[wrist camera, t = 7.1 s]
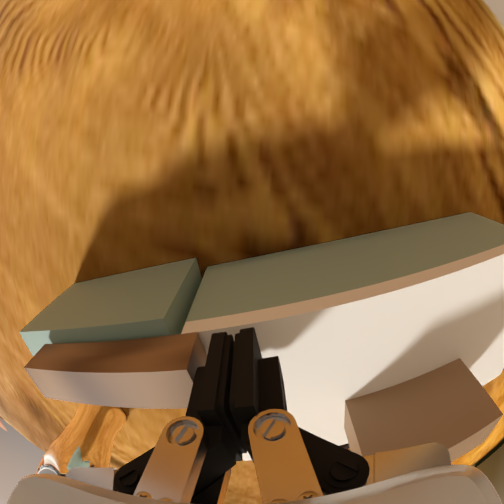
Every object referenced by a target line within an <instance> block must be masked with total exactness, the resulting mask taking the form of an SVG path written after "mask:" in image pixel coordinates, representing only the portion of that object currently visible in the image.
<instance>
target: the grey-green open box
mask: <svg viewBox="0 0 504 504" xmlns="http://www.w3.org/2000/svg"><path fill="white" fill-rule="evenodd" d="M503 244H504V224H501V223H499V222H496V221H494V220H491V219H488V218H486V217H483V216H480V215H478V214H475V213H472V212H468V213H463V214H458V215H454V216H449V217H444V218H440V219H435V220H430V221H426V222H421V223H416V224H412V225H407V226H402V227H397V228H393V229H388V230H383V231H378V232H374V233H369V234H364V235H359V236H354V237H350V238H345V239H340V240H335V241H330V242H325V243H321V244H316V245H311V246H306V247H301V248H296V249H291V250H287V251H282V252H277V253H272V254H267V255H262V256H257V257H252V258H247V259H242V260H237V261H232V262H227V263H222V264H217V265H212V266H207V269H206V271H205V274H204V276H203V279H202V276H201V272H200V269H199V266H198V262H197V259H196V258H191V259H187V260H182V261H177V262H172V263H168V264H163V265H158V266H153V267H149V268H144V269H139V270H134V271H130V272H125V273H120V274H116V275H111V276H106V277H102V278H97V279H92V280H88V281H83V282H79V283H74V284H73V285H72V286H71V287H69V288H68V289H67V290H66V291H65V292H63V293H62V294H61V295H60V296H59V297H57V298H56V299H55V300H54V301H53V302H52V303H51V304H49V305H48V306H47V307H46V308H45V309H44V310H43V311H42V312H40V313H39V314H38V315H37V316H36V317H35V318H34V319H33V320H32V321H31V322H29V323H28V324H27V325H26V326H25V327H24V328H23V329H22V330H21V331H20V334H21V336H22V338H23V340H24V341H25V343H26V345H27V347H28V348H29V350H30V352H31V354H32V355H33V357H34V356H35V354H36V353H37V352H38V351H39V350H40V349H41V348H42V347H43V345H44V344H62V343H87V342H104V341H118V340H130V339H141V338H151V337H160V336H169V335H177V334H181V333H182V330H183V327H184V325H185V322H188V321H195V320H202V319H208V318H215V317H221V316H227V315H233V314H239V313H244V312H250V311H255V310H261V309H266V308H271V307H276V306H281V305H286V304H291V303H296V302H301V301H306V300H310V299H315V298H319V297H324V296H328V295H333V294H337V293H341V292H345V291H350V290H354V289H358V288H362V287H366V286H370V285H374V284H377V283H381V282H385V281H389V280H393V279H396V278H400V277H403V276H407V275H411V274H414V273H418V272H421V271H424V270H428V269H431V268H434V267H438V266H441V265H444V264H447V263H451V262H454V261H457V260H460V259H463V258H466V257H469V256H472V255H475V254H478V253H481V252H484V251H487V250H490V249H492V248H495V247H498V246H501V245H503Z"/></svg>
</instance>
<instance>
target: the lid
mask: <svg viewBox="0 0 504 504" xmlns="http://www.w3.org/2000/svg"><path fill="white" fill-rule="evenodd" d="M251 327H254V329H255V332H256V336H257V340H258V343H259V347H260V351H261V355H262V358H268V357H274V356H278V357H279V361H280V365H281V370H282V375H283V381H284V388H285V396H286V404H287V411H288V412H289V413H290V414H292V415H293V417H294V418H295V420H296V422H297V425H298V427H300V428H302V429H304V430H306V431H308V432H310V433H312V434H314V435H316V436H318V437H320V438H322V439H325V440H327V441H329V442H331V443H333V444H336V445H338V446H340V445H344V444H347V443H349V447H350V450H351V451H352V452H355V453H357V454H359V455H361V456H369V455H374V454H375V453H376V452H384V451H390V450H397V449H402V448H408V447H413V446H418V445H422V444H427V443H435V442H437V443H440V444H443V445H444V446H445V447H446V448H447V449H448V451H449V454H450V460H451V462H452V461H454V460H455V459H457V458H459V457H461V456H462V455H464V454H466V453H467V452H469V451H471V450H472V449H474V448H475V447H477V446H479V445H480V444H482V443H483V442H484V441H485V440H486V438H487V437H488V436H489V434H490V433H491V431H492V430H493V429H494V427H495V426H496V424H497V423H498V421H499V420H500V418H501V417H502V415H503V414H502V412H501V411H500V410H499V408H498V407H497V405H496V404H495V403H494V401H493V400H492V398H491V397H490V396H489V394H488V393H487V392H486V390H485V389H484V388H483V385H485V384H486V383H488V382H490V381H491V380H493V379H494V378H496V377H497V376H499V375H500V374H501V372H502V370H503V368H504V244H503V245H501V246H498V247H495V248H492V249H490V250H487V251H484V252H481V253H478V254H475V255H472V256H469V257H466V258H463V259H460V260H457V261H454V262H451V263H447V264H444V265H441V266H438V267H434V268H431V269H428V270H424V271H421V272H418V273H414V274H411V275H407V276H403V277H400V278H396V279H393V280H389V281H385V282H381V283H377V284H374V285H370V286H366V287H362V288H358V289H354V290H350V291H345V292H341V293H337V294H333V295H328V296H324V297H319V298H315V299H310V300H306V301H301V302H296V303H291V304H286V305H281V306H276V307H271V308H266V309H261V310H255V311H250V312H244V313H239V314H233V315H227V316H221V317H215V318H208V319H202V320H195V321H188V322H185V325H184V327H183V330H182V333H181V334H185V333H193V332H198V335H199V337H200V340H201V342H202V345H203V347H204V350H205V352H206V355H207V354H208V349H209V345H210V340H211V335H212V334H213V333H219V332H227V334H228V335H230V334H232V336H233V339H234V341H235V334H237V333H240V329H245V328H251ZM242 458H243V460H244V461H247V460H252V459H251V457H250V455H249V453H248V451H247V453H242Z"/></svg>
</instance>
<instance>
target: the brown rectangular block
mask: <svg viewBox="0 0 504 504" xmlns="http://www.w3.org/2000/svg"><path fill="white" fill-rule="evenodd" d="M206 359H207V355H206V352H205V350H204V347H203V345H202V342H201V340H200V337H199V335H198V332H193V333H185V334H177V335H169V336H160V337H151V338H141V339H130V340H118V341H104V342H87V343H62V344H44V345H43V347H42V348H41V349H40V350H39V351H38V352H37V353H36V354H35V356H34V357H33V358H32V359H31V360H30V361H29V362H28V364H27V365H26V366H25V367H24V368H25V370H26V371H27V373H28V374H29V376H30V377H31V379H32V380H33V382H34V383H35V384H36V386H37V387H38V389H39V390H40V391H41V393H42V394H43V395H44V397H45V398H50V399H56V400H62V401H68V402H75V403H82V404H90V405H99V406H110V407H124V408H148V409H179V408H187V407H188V403H189V399H190V394H191V390H192V386H193V382H194V377H195V373H196V370H197V368H198V367H202V366H205V364H206Z"/></svg>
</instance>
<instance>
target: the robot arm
mask: <svg viewBox="0 0 504 504" xmlns="http://www.w3.org/2000/svg"><path fill="white" fill-rule="evenodd" d="M247 451H248V453H249V455H250V457H251V459H252V461H253V462H254V465H255V470H256V475H257V479H258V484H259V489H260V494H261V498H262V503H263V504H502V501H501V499H500V498H499V496H498V494H497V492H496V490H495V488H494V487H493V485H492V484H491V482H490V481H489V479H488V478H487V477H486V476H485V475H484V474H483V473H482V472H481V471H480V470H479V469H477V468H475V467H473V466H469V465H451V460H450V454H449V451H448V449H447V448H446V447H445V446H444V445H443V444H440V443H437V442H435V443H427V444H422V445H418V446H413V447H408V448H402V449H397V450H390V451H384V452H376V453H375V454H374V455H369V456H361V455H359V454H357V453H355V452H352V451H350V450H347V449H345V448H343V447H340V446H338V445H336V444H333V443H331V442H329V441H327V440H325V439H322V438H320V437H318V436H316V435H314V434H312V433H310V432H308V431H306V430H304V429H302V428H300V427H298V425H297V422H296V420H295V418H294V417H293V415H292V414H290V413H289V412H288V411H287V404H286V396H285V388H284V381H283V375H282V370H281V365H280V361H279V357H278V356H274V357H268V358H262V355H261V351H260V347H259V343H258V340H257V336H256V332H255V329H254V327H251V328H245V329H240V333H237V334H235V341H234V339H233V336H232V334H230V335H228V334H227V332H219V333H213V334H212V335H211V340H210V345H209V349H208V354H207V359H206V364H205V366H202V367H198V368H197V370H196V373H195V377H194V382H193V386H192V390H191V394H190V399H189V403H188V407H187V412H186V416H182V417H179V418H176V419H174V420H172V421H170V422H169V423H168V424H167V425H166V426H165V427H164V429H163V431H162V433H161V435H160V437H159V440H158V442H157V444H156V446H155V447H154V448H152V449H150V450H149V451H147V452H146V453H144V454H142V455H141V456H139V457H137V458H136V459H134V460H132V461H131V462H129V463H127V464H125V465H124V466H122V467H121V468H120V469H118V470H116V469H115V468H89V467H75V468H72V469H70V470H69V471H68V472H67V473H66V476H65V477H63V476H59V475H53V474H33V475H28V476H25V477H24V478H22V479H21V480H20V481H19V482H18V484H17V485H16V487H15V489H14V490H13V492H12V494H11V496H10V498H9V500H8V502H7V504H223V503H224V499H225V495H226V491H227V487H228V483H229V479H230V475H231V469H230V468H232V467H233V466H234V465H235V464H236V461H242V453H247Z"/></svg>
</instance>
